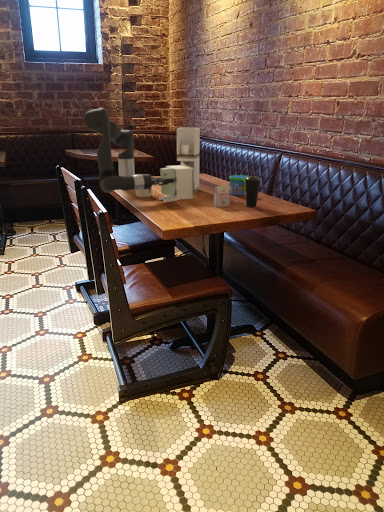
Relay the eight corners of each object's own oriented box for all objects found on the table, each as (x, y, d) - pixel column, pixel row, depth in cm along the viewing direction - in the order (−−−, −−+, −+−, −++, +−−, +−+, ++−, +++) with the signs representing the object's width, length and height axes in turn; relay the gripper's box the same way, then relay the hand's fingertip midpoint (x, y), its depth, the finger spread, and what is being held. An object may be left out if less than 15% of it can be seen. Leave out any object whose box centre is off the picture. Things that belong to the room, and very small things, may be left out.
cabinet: (152, 196, 219) (151, 167, 214) (182, 193, 227) (182, 165, 222) (164, 202, 207) (163, 170, 201) (194, 198, 215) (195, 168, 209)
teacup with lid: (153, 197, 219) (152, 175, 215) (136, 197, 217) (135, 176, 213) (150, 192, 230) (149, 172, 226) (134, 193, 228) (133, 172, 224)
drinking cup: (241, 204, 203) (243, 164, 196) (256, 204, 204) (259, 164, 197) (245, 208, 196) (247, 166, 189) (260, 207, 197) (263, 166, 190)
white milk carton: (213, 205, 201) (214, 185, 197) (226, 204, 203) (226, 184, 199) (216, 207, 197) (216, 187, 194) (229, 206, 199) (229, 186, 196)
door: (161, 193, 210) (160, 168, 206) (172, 192, 213) (170, 167, 208) (165, 195, 206) (163, 169, 202) (175, 193, 209) (174, 168, 204)
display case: (181, 188, 242) (181, 127, 229) (199, 189, 240) (199, 127, 227) (177, 192, 231) (176, 128, 219) (195, 193, 229) (195, 128, 217)
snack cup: (223, 192, 231) (224, 174, 228) (240, 191, 235) (241, 173, 231) (235, 198, 217) (236, 179, 214) (253, 196, 221) (254, 178, 217)
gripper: (146, 176, 194) (178, 174, 202) (135, 172, 206) (166, 170, 213) (146, 192, 196) (178, 189, 204) (136, 187, 208) (166, 185, 216)
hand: (171, 179), depth 209 cm, fingers closed on door, 3 cm apart
